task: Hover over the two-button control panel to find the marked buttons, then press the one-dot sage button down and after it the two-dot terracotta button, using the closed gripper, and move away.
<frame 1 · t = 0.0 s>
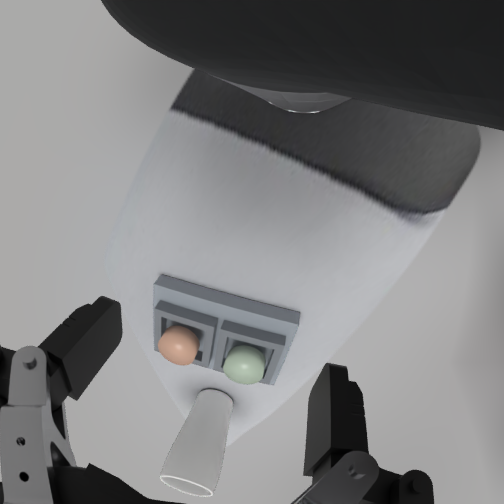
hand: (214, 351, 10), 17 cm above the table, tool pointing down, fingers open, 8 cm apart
two-button control panel: (222, 329, 32), on the table
drinking glass: (216, 397, 39), on the table
button two: (178, 345, 29), point 4 cm above the table, slide at 0.0 cm
button one: (244, 365, 28), point 4 cm above the table, slide at 0.0 cm
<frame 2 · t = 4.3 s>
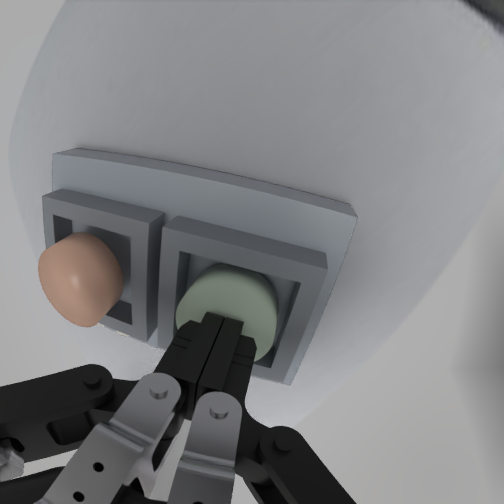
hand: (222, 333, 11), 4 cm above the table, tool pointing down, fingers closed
two-button control panel: (181, 259, 16), on the table
drinking glass: (184, 407, 22), on the table
button two: (79, 279, 12), point 4 cm above the table, slide at 0.0 cm
button one: (228, 316, 12), point 4 cm above the table, slide at 0.9 cm, touching gripper
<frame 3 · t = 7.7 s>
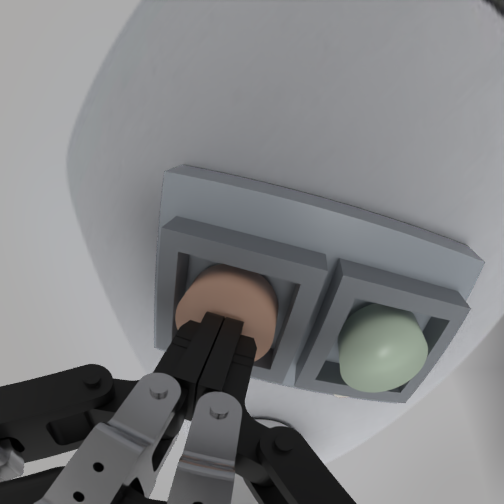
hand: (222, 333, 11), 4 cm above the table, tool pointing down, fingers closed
two-button control panel: (309, 294, 15), on the table
drinking glass: (265, 431, 21), on the table
button two: (228, 316, 12), point 3 cm above the table, slide at 1.0 cm, touching gripper
button one: (381, 349, 12), point 3 cm above the table, slide at 1.2 cm
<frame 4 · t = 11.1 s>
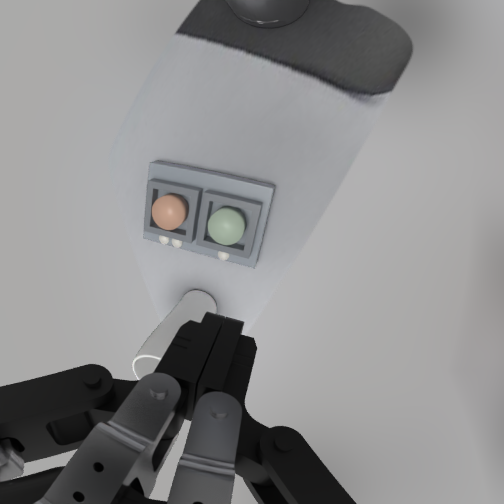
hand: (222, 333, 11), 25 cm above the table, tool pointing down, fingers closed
two-button control panel: (206, 210, 36), on the table
drinking glass: (200, 303, 42), on the table
button two: (170, 211, 34), point 3 cm above the table, slide at 1.2 cm
button one: (227, 225, 33), point 3 cm above the table, slide at 1.2 cm
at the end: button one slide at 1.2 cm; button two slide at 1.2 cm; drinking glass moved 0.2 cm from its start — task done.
